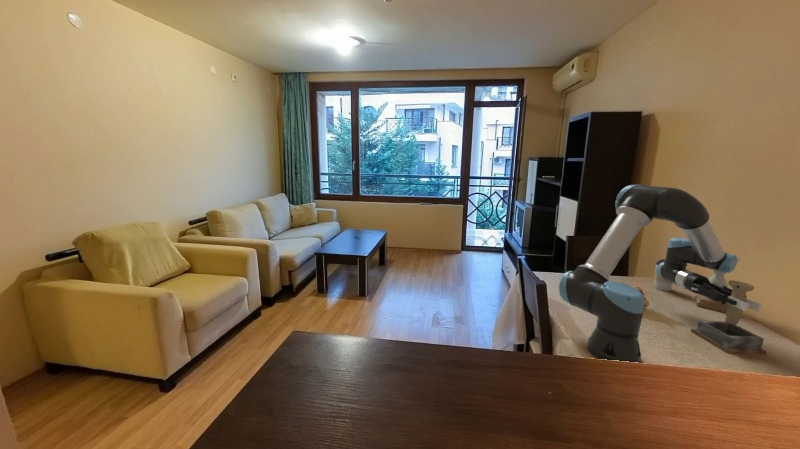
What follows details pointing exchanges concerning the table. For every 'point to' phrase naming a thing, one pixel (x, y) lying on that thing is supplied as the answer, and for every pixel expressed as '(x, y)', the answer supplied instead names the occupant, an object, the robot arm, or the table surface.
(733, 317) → the handle
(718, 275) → the candle holder
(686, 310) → the table surface
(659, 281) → the coffee cup
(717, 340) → the socket
